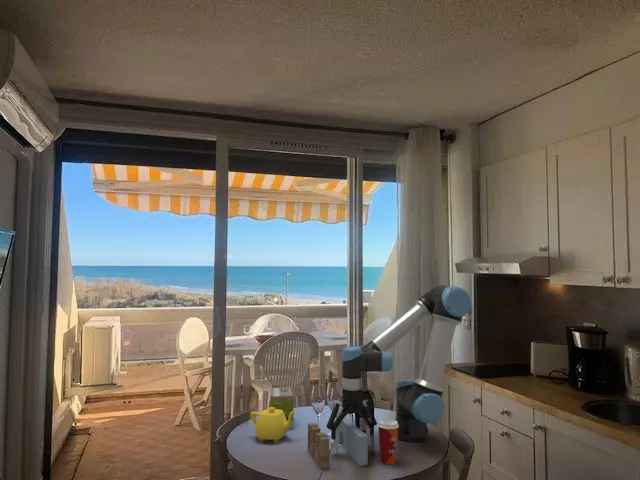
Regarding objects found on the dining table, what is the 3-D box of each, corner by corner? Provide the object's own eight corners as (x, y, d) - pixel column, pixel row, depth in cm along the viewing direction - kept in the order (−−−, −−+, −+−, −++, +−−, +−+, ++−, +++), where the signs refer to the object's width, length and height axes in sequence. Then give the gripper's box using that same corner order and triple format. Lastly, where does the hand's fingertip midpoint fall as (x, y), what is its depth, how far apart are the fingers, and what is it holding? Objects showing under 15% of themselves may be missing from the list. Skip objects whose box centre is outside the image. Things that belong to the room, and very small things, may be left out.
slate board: (336, 440, 191) (336, 415, 192) (343, 439, 192) (343, 414, 193) (359, 465, 166) (359, 436, 167) (367, 464, 167) (367, 436, 168)
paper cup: (396, 466, 166) (396, 426, 167) (375, 463, 168) (375, 423, 169) (401, 458, 173) (400, 419, 174) (380, 455, 176) (380, 417, 177)
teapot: (292, 446, 184) (292, 414, 185) (244, 442, 189) (244, 410, 190) (300, 435, 198) (301, 405, 198) (255, 431, 202) (256, 401, 203)
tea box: (270, 419, 218) (270, 387, 219) (292, 419, 219) (292, 386, 220) (270, 430, 203) (270, 395, 204) (293, 429, 205) (294, 394, 206)
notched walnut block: (307, 450, 181) (307, 423, 181) (315, 449, 182) (315, 422, 182) (320, 469, 164) (321, 439, 164) (329, 468, 164) (329, 438, 165)
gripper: (377, 384, 187) (378, 439, 186) (318, 388, 180) (318, 445, 179) (385, 388, 180) (385, 446, 178) (324, 392, 173) (323, 452, 172)
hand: (352, 446), depth 179 cm, fingers open, 12 cm apart
